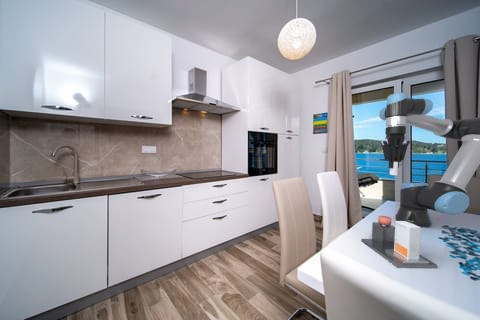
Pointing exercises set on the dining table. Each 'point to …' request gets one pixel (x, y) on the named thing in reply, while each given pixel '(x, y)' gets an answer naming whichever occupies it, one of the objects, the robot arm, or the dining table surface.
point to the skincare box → (407, 240)
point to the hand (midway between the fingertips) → (393, 174)
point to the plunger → (384, 220)
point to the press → (392, 248)
